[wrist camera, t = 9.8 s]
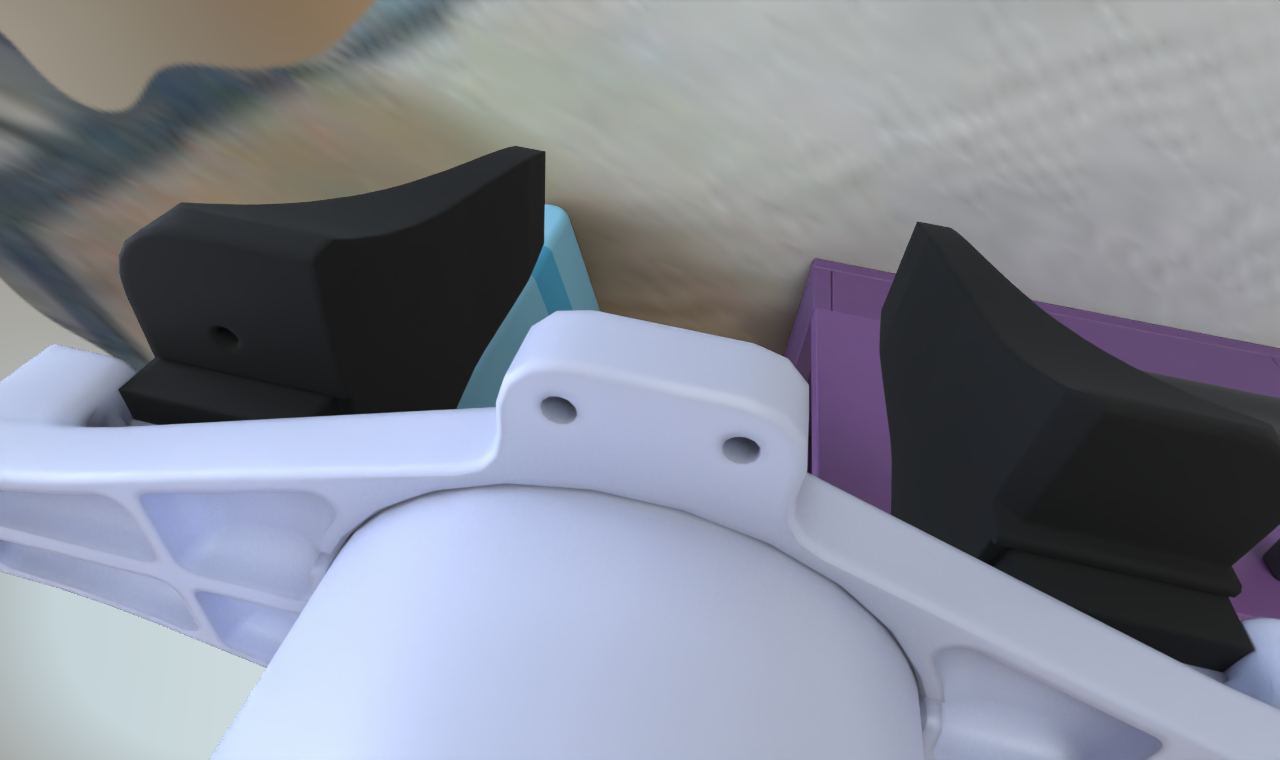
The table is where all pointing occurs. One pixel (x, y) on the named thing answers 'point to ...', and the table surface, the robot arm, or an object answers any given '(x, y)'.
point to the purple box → (1114, 335)
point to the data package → (534, 306)
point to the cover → (861, 450)
